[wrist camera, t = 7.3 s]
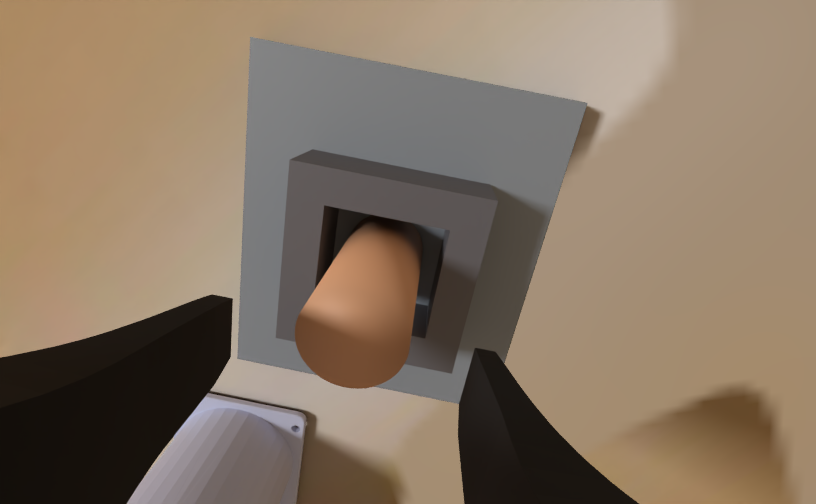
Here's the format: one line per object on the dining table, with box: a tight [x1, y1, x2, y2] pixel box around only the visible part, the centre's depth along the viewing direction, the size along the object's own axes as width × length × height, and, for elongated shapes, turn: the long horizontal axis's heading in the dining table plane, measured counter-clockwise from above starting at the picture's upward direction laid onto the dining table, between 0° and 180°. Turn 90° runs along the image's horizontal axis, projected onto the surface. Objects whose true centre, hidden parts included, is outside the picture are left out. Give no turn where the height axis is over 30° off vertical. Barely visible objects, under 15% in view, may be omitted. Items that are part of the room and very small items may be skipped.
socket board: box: [237, 37, 587, 404], centre depth 19 cm, size 16×14×4 cm
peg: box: [295, 215, 423, 388], centre depth 16 cm, size 4×4×8 cm
